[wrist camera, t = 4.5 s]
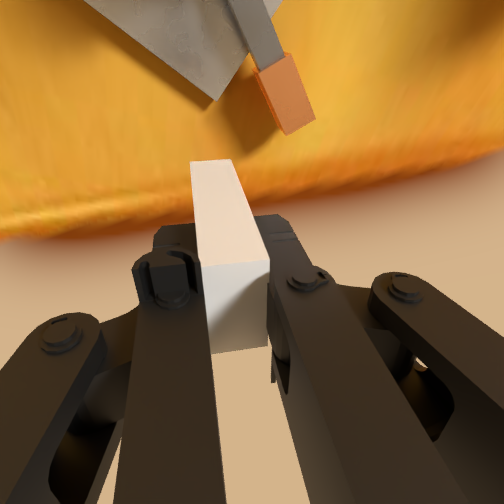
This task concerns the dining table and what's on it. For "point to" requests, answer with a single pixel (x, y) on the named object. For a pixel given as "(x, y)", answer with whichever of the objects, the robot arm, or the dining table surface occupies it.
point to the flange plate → (186, 36)
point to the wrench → (273, 66)
